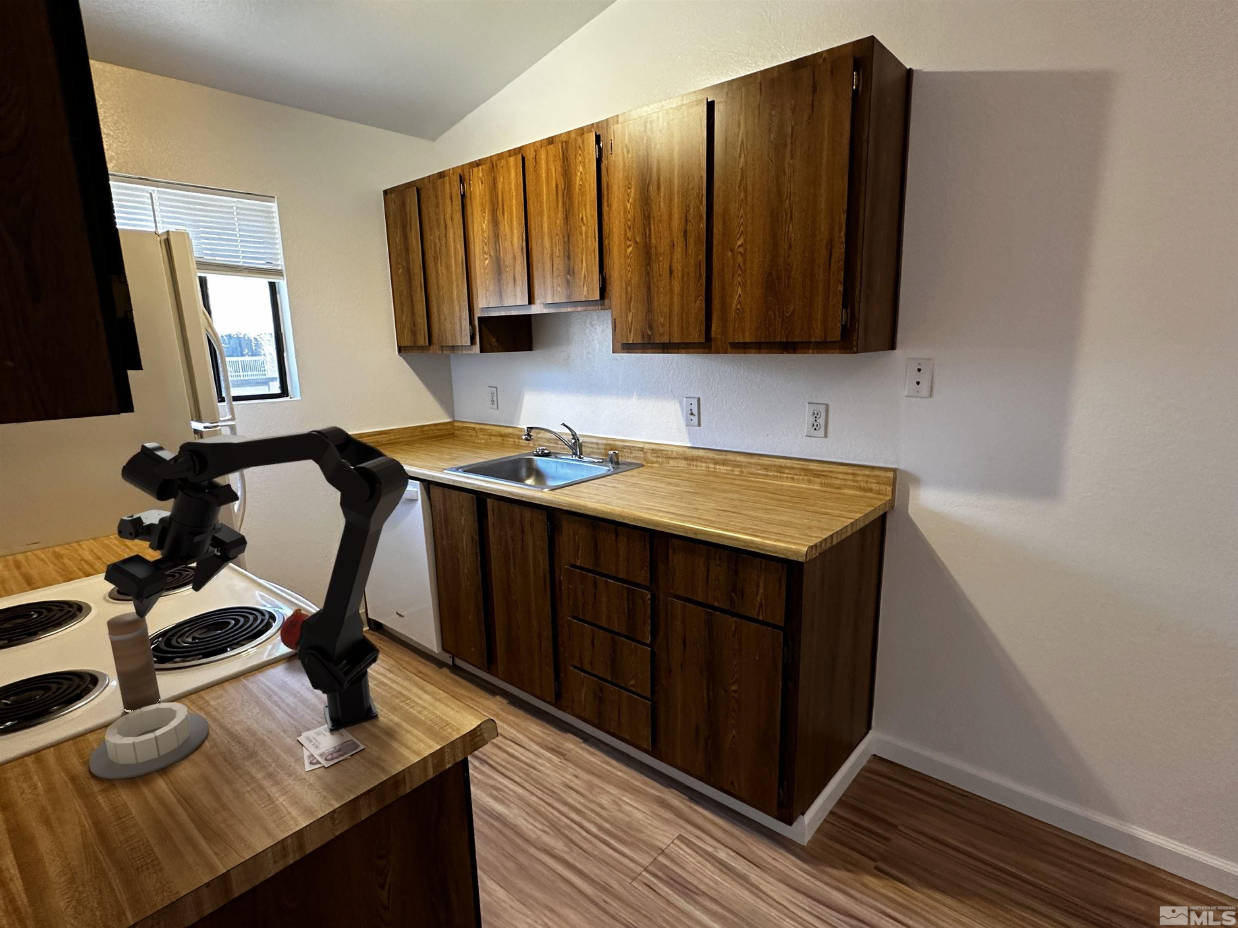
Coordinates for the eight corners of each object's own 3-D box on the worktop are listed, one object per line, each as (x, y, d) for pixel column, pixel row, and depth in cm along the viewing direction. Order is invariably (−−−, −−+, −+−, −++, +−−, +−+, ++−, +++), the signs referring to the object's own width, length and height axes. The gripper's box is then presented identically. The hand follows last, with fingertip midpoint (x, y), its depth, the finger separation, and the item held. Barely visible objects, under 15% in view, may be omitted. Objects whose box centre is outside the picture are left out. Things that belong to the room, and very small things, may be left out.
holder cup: (208, 754, 83) (204, 730, 82) (81, 793, 76) (75, 767, 75) (209, 706, 94) (205, 684, 93) (98, 736, 87) (93, 712, 86)
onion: (304, 661, 106) (299, 617, 104) (275, 658, 107) (269, 614, 105) (327, 644, 112) (322, 602, 110) (298, 641, 113) (293, 600, 111)
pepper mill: (159, 707, 94) (143, 620, 91) (121, 717, 91) (104, 628, 88) (161, 692, 97) (146, 608, 94) (125, 701, 95) (108, 616, 92)
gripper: (202, 474, 99) (179, 554, 104) (82, 507, 82) (60, 602, 86) (261, 508, 98) (235, 587, 103) (152, 549, 81) (126, 643, 85)
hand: (169, 602), depth 94 cm, fingers open, 9 cm apart
